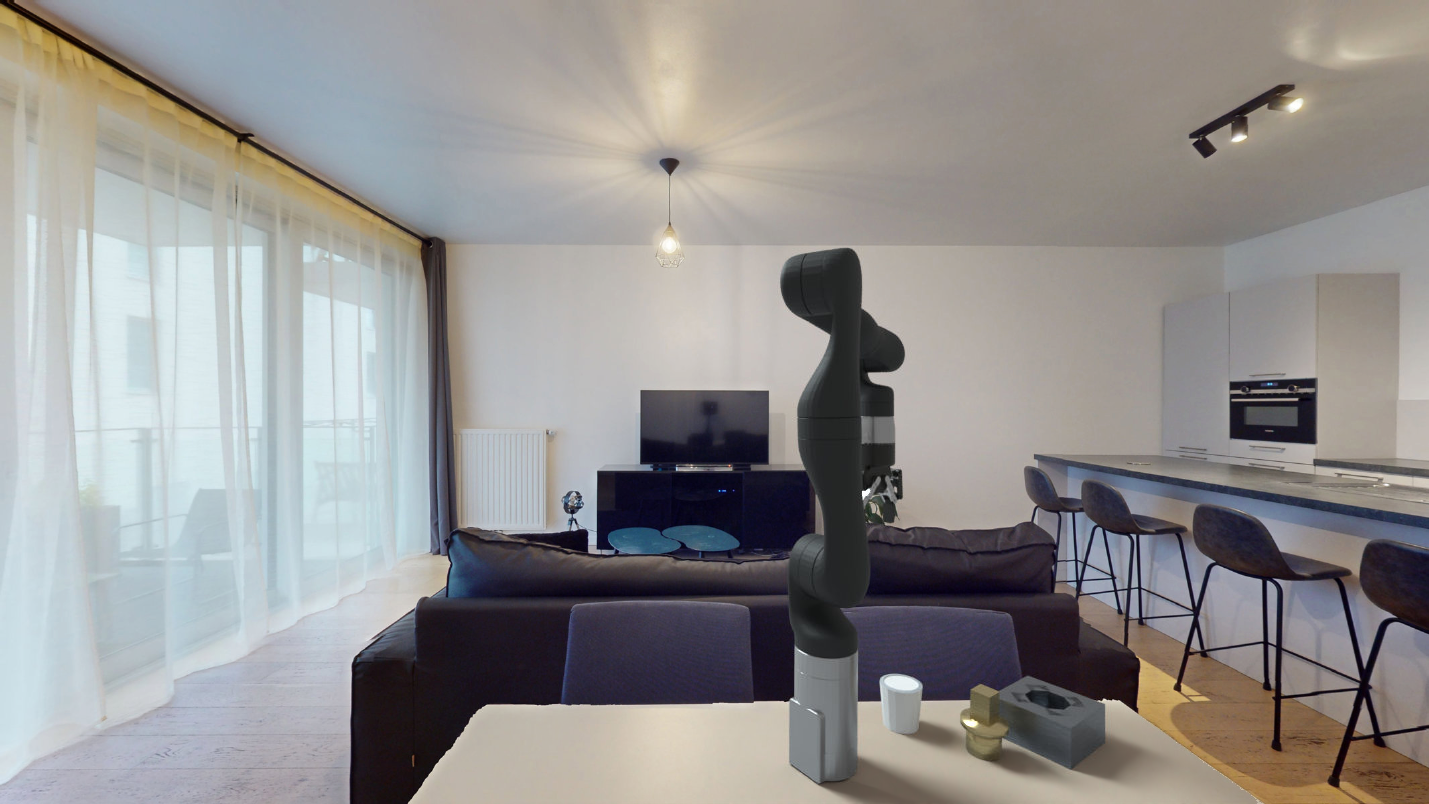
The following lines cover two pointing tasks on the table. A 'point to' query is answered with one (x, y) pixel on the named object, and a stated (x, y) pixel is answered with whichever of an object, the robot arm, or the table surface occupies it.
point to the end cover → (984, 724)
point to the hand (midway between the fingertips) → (874, 525)
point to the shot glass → (901, 702)
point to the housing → (1052, 720)
